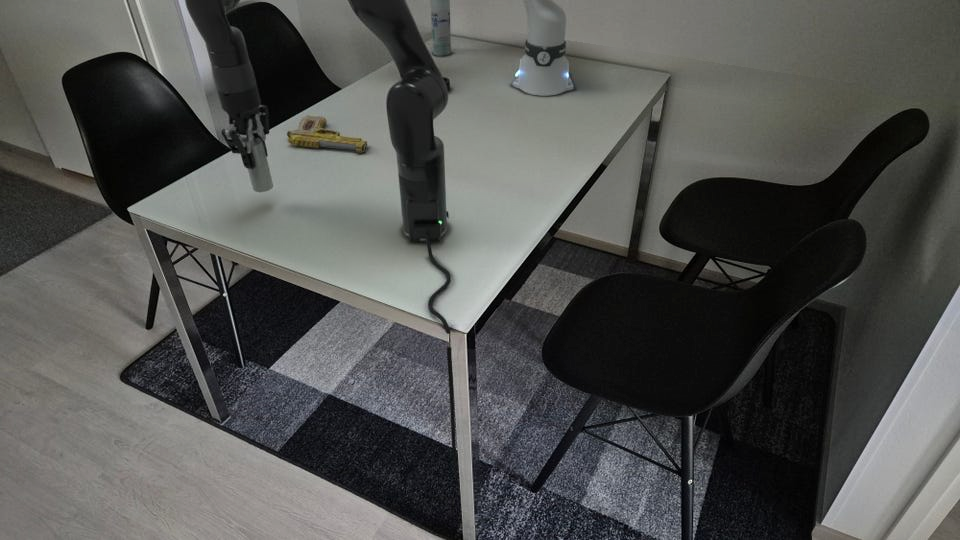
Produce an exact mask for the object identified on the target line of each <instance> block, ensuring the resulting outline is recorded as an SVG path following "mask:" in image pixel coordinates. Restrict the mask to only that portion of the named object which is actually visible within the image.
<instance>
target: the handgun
mask: <svg viewBox="0 0 960 540" xmlns="http://www.w3.org/2000/svg"><path fill="white" fill-rule="evenodd" d="M327 122H328V121H327V119H326V117H324V116H317V115H303V116H302V117H301V118H300V121H299V122H298V123H299V124H298V128H297V129H293V130H291V129H290V130H289V129H288V130H287V131H286V136H287V142H288V143H292V144H293V145H294V146H298V147H305V148H306V147H307V148H315V149H319V148H321V147H322V148H330V149H337V150H347V151H355V152H356V153H360V154H363V153H364V152H366V151H367V147H368V141H367V140H362V139H363V138H362V137H354V136H342V135H341V132H340V131H338V130H333V129H326V128H324V127H325V125H327Z"/></svg>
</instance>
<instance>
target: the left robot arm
mask: <svg viewBox="0 0 960 540" xmlns="http://www.w3.org/2000/svg"><path fill="white" fill-rule="evenodd" d="M240 2H241V0H184V3H185V7H186V9H187V12H188V14H189V16H190V18H191V20H192V22H193V23H194V25H195V27H196V30H197V31H198V33H199V34H200V36H201V38H202V39H203V41H204V43H205V48H206V51H207V54H208V59H209V62H210V65H211V72H212V78H213V81H214V85H215V88H216V92H217V96H218V99H219V103H220V106H221V109H222V110H223V111H224V112H225V113H226V114H227V115H228V124H229V126H228V127H227V128H226V129H225V128H223V129H222V130H221V136H222V137H223V139H224V140H225V142H226V144H227V146H228V148H229V150H230V151H231V153H232V154H238V155H240V157H241V160H242V164H243V167H244V168H245V169H247V170H248V169H254V168H255V167H256V165H255V161H254V158H253V154H252V152H251V141H252V138H260V139H262V142H263V146H264V150H265V154H266V158H267V157H268V156H269V154H268V149H267V144H266V140H267V137H266V136H267V135H269V134H270V118H269V117H270V116H269V107H268V105H264V104H262V100H261V97H260V92H259V88H258V85H257V80H256V76H255V72H254V68H253V66H252V63H251V60H250V57H249V53H248V49H247V44H246V41H245V37H244V34H243V32H242V31H241V30H240V29H239V28H238V27H236V26H233V25H232V26H231V25H230V22H229V20H228V18H227V13H229V12H230V11H232V10H234V9H235V8H236V7H237V6H238V5H239V3H240ZM347 2H348V4H349V6H350V8H351V10H352V11H353V13H354V14H355V16H356V17H357V18H358V19H359V21H361V23H362V24H364V26H365V27H366V28H367V29H368V30H369V31H370V32H371V33H372V34H373V35H375V36H376V37H377V38H378V39H379V41H380V42H381V43H382V44H383V45H384V46H385V47H386V49H387V50H388V52H389V54H390V56H391V58H392V59H393V62H394V64H395V66H396V68H397V71H398V74H399V77H400V79H399V80H398V81H397V82H395V83H393V85H392V86H391V87H390V88H389V90H388V91H387V95H386V102H385V106H386V117H387V124H388V131H389V138H390V141H391V145H392V147H393V149H394V151H395V153H396V154H395V155H396V163H397V176H398V185H399V197H400V208H401V218H402V219H401V220H402V233H403V234H404V236H405V237H406V238H407V239H408V240H409V242H410V243H426V247H427V253H428V257H429V260H430V262H431V263H432V264H433V266H435V267H436V268H437V269H438V270H439V271H441V272H442V273H444V274H445V277H446V281H445V283H444V284H442V285H441V286H440V287H439V288H438V289H437V290H436V291H434V293H432V294H431V296H430V297H429V300H428V302H427V307H428V310H429V312H430V313H431V314H432V315H434V316H435V317H436V318H437V319H438V320H440V322H441V324H442V325H443V328H444V330H445V333H446V334H447V335H449V334H451V329H450V326H449V323H448V322H447V320H446V318H445V317H444V316H443V314H440V312H438V311H437V310H436V309H435V308H434V307H433V303H434V300H435V299H436V297H438V296H439V294H441V293H442V292H443V291H445V290H446V288H448V286H449V285H450V283H451V274H450V272H449V271H448V270H447V268H445V267H443V266H442V265H441V264H440V263H439V262H437V260H436V259H435V257H434V254H433V249H432V244H431V243H432V242H435V243H436V242H440V241H441V238H443V237H444V236H446V234H447V232H448V229H449V227H448V225H449V224H448V219H449V218H450V217H449V215H450V214H449V211H448V210H447V190H446V188H447V187H446V166H445V165H446V164H445V163H446V162H445V145H444V142H443V140H442V139H441V138H440V137H438V136H436V135H435V128H434V120H435V119H436V118H438V117H439V116H440V115H441V114H442V113H443V112H444V110H445V109H446V108H447V105H448V102H449V91H448V90H447V86H446V84H445V81H444V79H443V77H444V76H443V75H442V73H441V71H440V69H439V67H438V65H437V63H436V62H435V60H434V58H433V56H432V54H431V53H430V51H429V49H428V47H427V45H426V43H425V41H424V38H423V37H422V35H421V32H420V30H419V28H418V25H417V23H416V21H415V18H414V16H413V14H412V11H411V9H410V7H409V5H408V2H407V0H347ZM262 123H263V124H262ZM242 141H243V142H245V147H244V146H243V144H242ZM446 360H447V362H446V363H447V373H448V374H447V375H448V390H449V391H448V392H449V408H450V409H449V411H450V433H451V455H452V474H453V477H454V476H457V475H458V470H457V469H458V468H457V467H458V466H457V446H456V445H457V444H456V443H457V442H456V417H455V416H456V415H455V393H454V376H453V375H454V374H453V359H452V347H451V346H447V347H446Z"/></svg>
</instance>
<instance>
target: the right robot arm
mask: <svg viewBox="0 0 960 540" xmlns="http://www.w3.org/2000/svg"><path fill="white" fill-rule="evenodd" d="M522 1H523V4H524V7H525V12H526V19H527V20H526V21H527V22H526V23H527V35H526V39H525V44H524V55H523V56H522V57H521V58H520V59H519V66H518V67H519V68H518V71H516V73H515V77H516V78H515V79H514V80H513V81H512V87H514V88H517V89H520V91H522V92H524V93H526V94H529V95H533V96H542V97H546V96H547V97H548V96H549V97H550V96H556V95H560V94H562V93H564V92H569V91H572V90H574V89H575V88H574V87H575V86H574V83H573V80H572V78H571V76H570V71H569V69H570V62H569V60H568V59H567V58H566V56H565V55H566V49H567V41H566V39H565V38H566V27H567V15H566V12H565V11H564V9H563V8H562V7H561V6H560V5H559V4H557V3H556V2H554V0H522Z"/></svg>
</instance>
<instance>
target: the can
mask: <svg viewBox="0 0 960 540" xmlns="http://www.w3.org/2000/svg"><path fill="white" fill-rule="evenodd" d="M242 144H243V146H244V147H245V142H243V141H242ZM251 152H252V154H253V158H254V161H255V165H256V167H255V168H254V169H248V168H247V172H248V175H249V179H250V183H251V186H252V189H253V191H254V192H256V193H265V192H266V193H267V192H268V191H271V190H272V189H273V188H274V183H273V179H272V175H271V170H270V166H269V162H268V158H267V157H266V154H265V150H264V146H263V142H262V139H260V138H252V141H251Z"/></svg>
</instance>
